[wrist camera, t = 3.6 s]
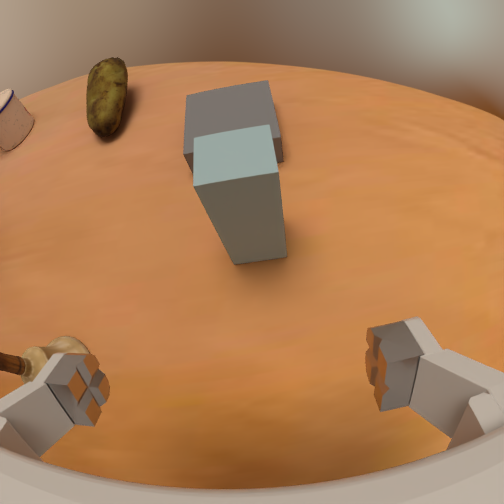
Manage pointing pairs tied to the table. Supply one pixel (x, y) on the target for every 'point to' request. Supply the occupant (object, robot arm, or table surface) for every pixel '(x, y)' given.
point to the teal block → (242, 192)
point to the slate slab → (230, 114)
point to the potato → (106, 95)
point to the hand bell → (39, 357)
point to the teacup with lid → (13, 120)
